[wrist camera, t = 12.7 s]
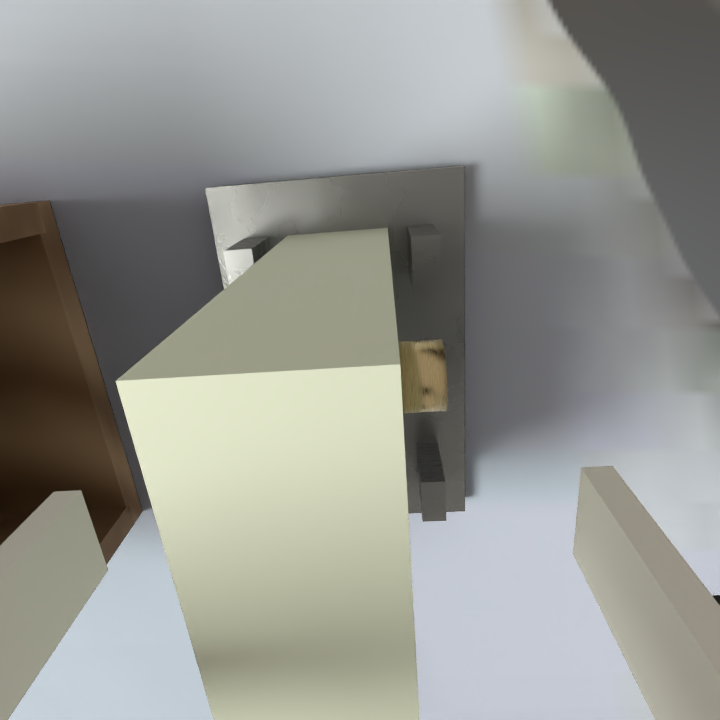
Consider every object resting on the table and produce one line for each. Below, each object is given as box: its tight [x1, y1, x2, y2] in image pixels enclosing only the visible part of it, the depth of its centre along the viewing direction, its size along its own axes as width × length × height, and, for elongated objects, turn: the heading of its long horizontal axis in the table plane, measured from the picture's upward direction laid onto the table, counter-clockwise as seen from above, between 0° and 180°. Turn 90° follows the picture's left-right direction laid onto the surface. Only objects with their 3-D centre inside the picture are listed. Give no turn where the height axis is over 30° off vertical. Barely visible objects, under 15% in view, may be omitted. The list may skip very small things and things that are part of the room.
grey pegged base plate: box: [205, 166, 465, 521], centre depth 21 cm, size 16×10×4 cm, turn 5°
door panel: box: [116, 228, 448, 720], centre depth 16 cm, size 12×5×14 cm, turn 5°
